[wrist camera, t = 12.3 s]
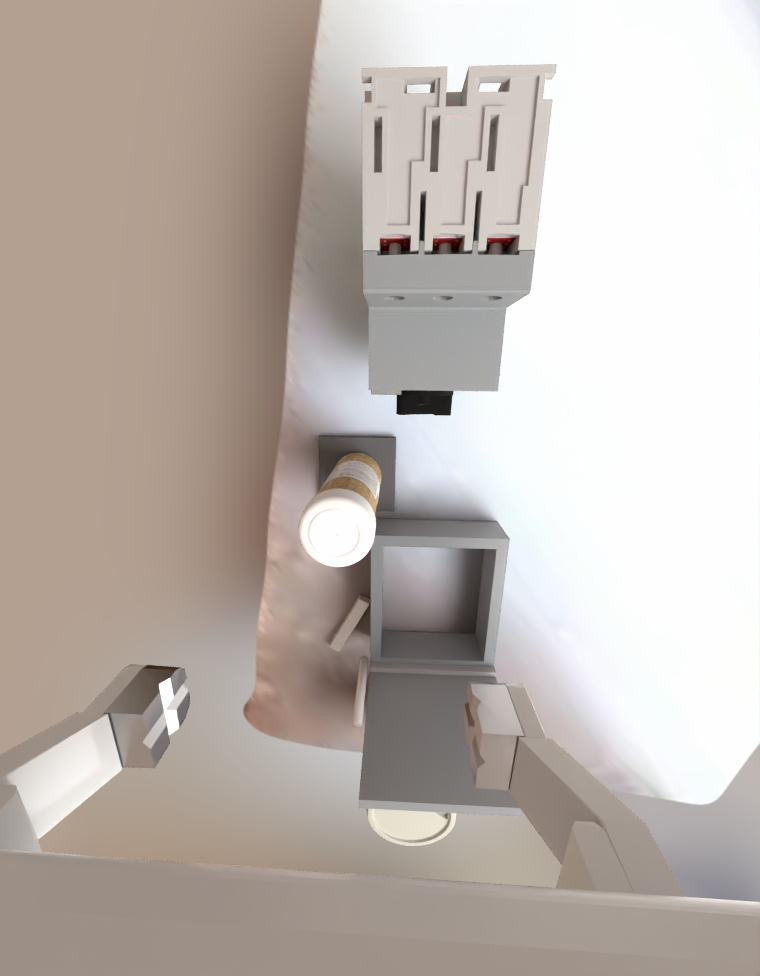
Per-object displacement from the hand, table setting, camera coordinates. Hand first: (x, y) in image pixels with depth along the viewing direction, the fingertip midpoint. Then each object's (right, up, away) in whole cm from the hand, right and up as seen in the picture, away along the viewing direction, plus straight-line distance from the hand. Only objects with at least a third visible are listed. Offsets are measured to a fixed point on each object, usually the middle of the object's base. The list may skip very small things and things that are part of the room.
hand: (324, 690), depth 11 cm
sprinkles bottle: (0, +7, +24) cm, 25 cm away
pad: (-1, +7, +24) cm, 25 cm away
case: (+7, -4, +27) cm, 28 cm away
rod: (-2, -8, +29) cm, 31 cm away
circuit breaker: (+5, +20, +20) cm, 29 cm away
